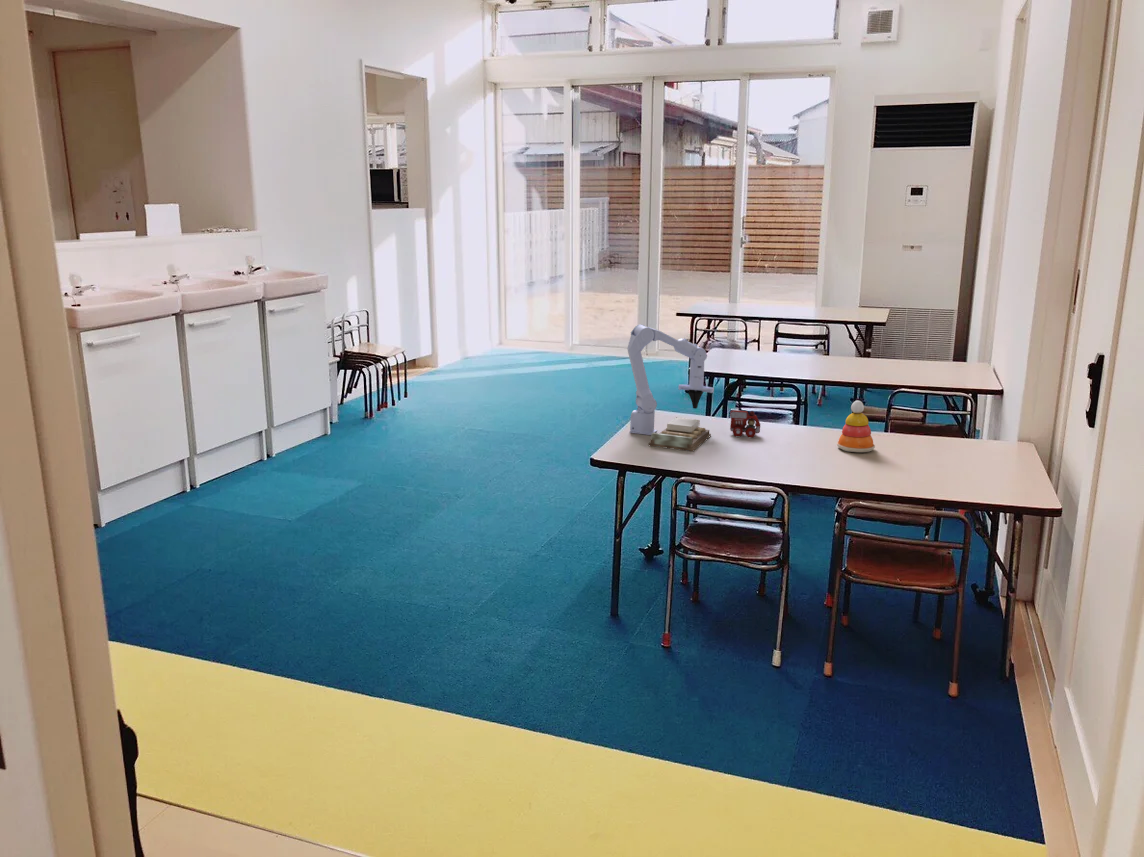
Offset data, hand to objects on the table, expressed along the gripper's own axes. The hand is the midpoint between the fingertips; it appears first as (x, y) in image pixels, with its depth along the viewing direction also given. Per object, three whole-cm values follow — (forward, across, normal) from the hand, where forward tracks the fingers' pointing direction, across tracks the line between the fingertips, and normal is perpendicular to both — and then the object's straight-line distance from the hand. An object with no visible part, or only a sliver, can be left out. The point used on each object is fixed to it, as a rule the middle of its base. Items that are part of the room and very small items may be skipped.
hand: (695, 408), depth 371 cm
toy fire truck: (+10, -21, -1) cm, 23 cm away
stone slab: (+6, +1, +12) cm, 13 cm away
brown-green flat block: (+9, 0, +19) cm, 21 cm away
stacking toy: (+10, -65, 0) cm, 66 cm away
